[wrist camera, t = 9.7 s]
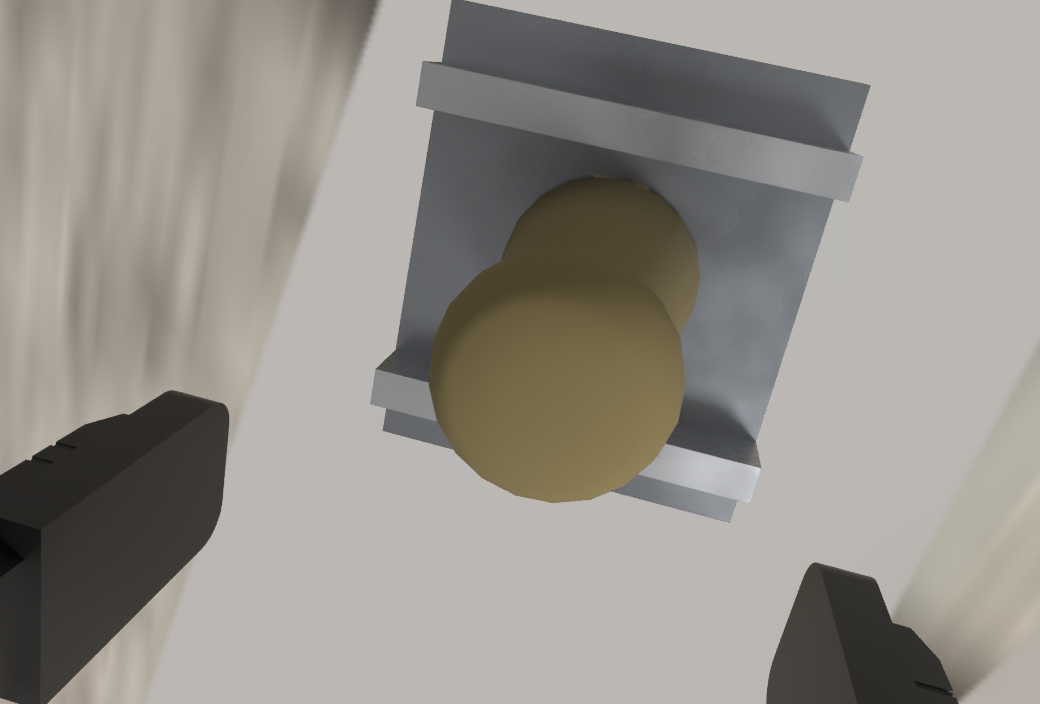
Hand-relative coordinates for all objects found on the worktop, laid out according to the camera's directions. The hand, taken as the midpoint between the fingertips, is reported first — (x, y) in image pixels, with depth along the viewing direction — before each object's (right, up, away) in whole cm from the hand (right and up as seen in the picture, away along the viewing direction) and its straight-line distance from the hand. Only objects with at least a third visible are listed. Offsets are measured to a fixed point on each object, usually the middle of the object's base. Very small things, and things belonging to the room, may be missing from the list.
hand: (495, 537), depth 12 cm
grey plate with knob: (+3, +6, +19) cm, 20 cm away
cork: (+3, +5, +15) cm, 16 cm away
